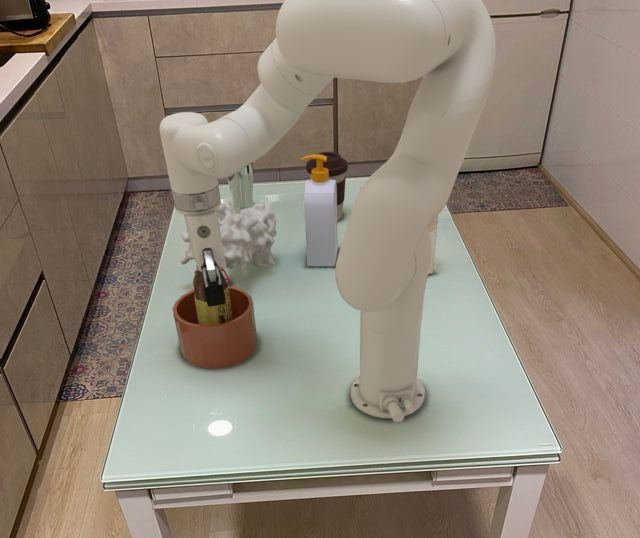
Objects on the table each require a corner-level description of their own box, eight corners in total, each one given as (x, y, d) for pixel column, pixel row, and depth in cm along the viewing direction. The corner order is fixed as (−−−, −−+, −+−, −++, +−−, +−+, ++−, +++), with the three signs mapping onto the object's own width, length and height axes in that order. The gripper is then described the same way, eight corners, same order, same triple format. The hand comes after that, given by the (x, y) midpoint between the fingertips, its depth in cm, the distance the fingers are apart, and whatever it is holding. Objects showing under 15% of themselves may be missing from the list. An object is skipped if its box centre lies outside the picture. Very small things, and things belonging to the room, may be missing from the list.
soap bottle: (307, 248, 157) (303, 148, 142) (337, 248, 156) (336, 148, 141) (303, 267, 150) (298, 163, 135) (334, 267, 149) (332, 163, 134)
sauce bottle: (229, 354, 124) (215, 255, 111) (197, 351, 125) (179, 253, 112) (240, 334, 129) (227, 238, 116) (209, 332, 130) (193, 235, 117)
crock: (263, 361, 123) (258, 319, 117) (184, 374, 121) (176, 332, 115) (250, 320, 134) (246, 280, 128) (178, 332, 132) (170, 291, 126)
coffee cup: (303, 211, 172) (301, 152, 162) (340, 206, 174) (339, 146, 164) (315, 227, 165) (312, 166, 155) (353, 221, 167) (353, 160, 157)
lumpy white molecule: (199, 296, 156) (169, 286, 132) (194, 214, 154) (162, 189, 129) (284, 291, 155) (269, 281, 130) (280, 209, 153) (264, 183, 128)
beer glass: (262, 208, 174) (257, 149, 165) (246, 218, 170) (240, 158, 160) (241, 203, 177) (234, 145, 168) (225, 213, 173) (217, 154, 163)
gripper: (226, 214, 102) (241, 311, 113) (213, 175, 115) (227, 266, 126) (177, 221, 101) (197, 319, 112) (169, 181, 114) (188, 272, 125)
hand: (213, 291), depth 119 cm, fingers open, 9 cm apart
